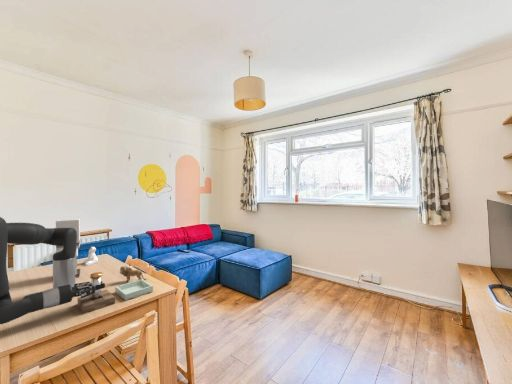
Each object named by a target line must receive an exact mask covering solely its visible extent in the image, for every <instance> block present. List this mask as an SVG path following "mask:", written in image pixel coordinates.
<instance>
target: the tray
mask: <svg viewBox="0 0 512 384" xmlns="http://www.w3.org/2000/svg"><path fill="white" fill-rule="evenodd" d="M114 291H115V292H114V293H115V294H116V295H118V296H119V297H120V298H121V299H122V300H124V301H129V300H132V299H135V298H138V297H141V296H144V295H147V294H150V293H153V292H154V285H152V284H151V283H149V282H147V280H144V279H143V278H142V279H141V280H138V279H136V280H134V281H131V282H126V283H124V284H120V285H117V286H115V288H114Z"/></svg>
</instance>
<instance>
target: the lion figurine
mask: <svg viewBox="0 0 512 384" xmlns="http://www.w3.org/2000/svg"><path fill="white" fill-rule="evenodd" d="M119 273H120V275H122V276H124V277H126V281H125V282H126V283H130V282H129V281H130V280H131V277H136V278H137V280H141V279H143V280H144V281H147V279H146V278H145V277H144V276H143V272H142V270H140V269H132V268H131V267H129V266H126V265H123V266H121V267H120V269H119Z"/></svg>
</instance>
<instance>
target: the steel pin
mask: <svg viewBox="0 0 512 384" xmlns="http://www.w3.org/2000/svg"><path fill="white" fill-rule="evenodd" d="M89 277H90V279H91V282H92V286H94V285H98V284H101V281H102V277H103V272H100V271H96V272H93V273H91V274H90V275H89ZM101 291H102V289H99V290H96V291H95V293H93V294H92V301H93V300H96V299H100V298H101Z"/></svg>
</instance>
